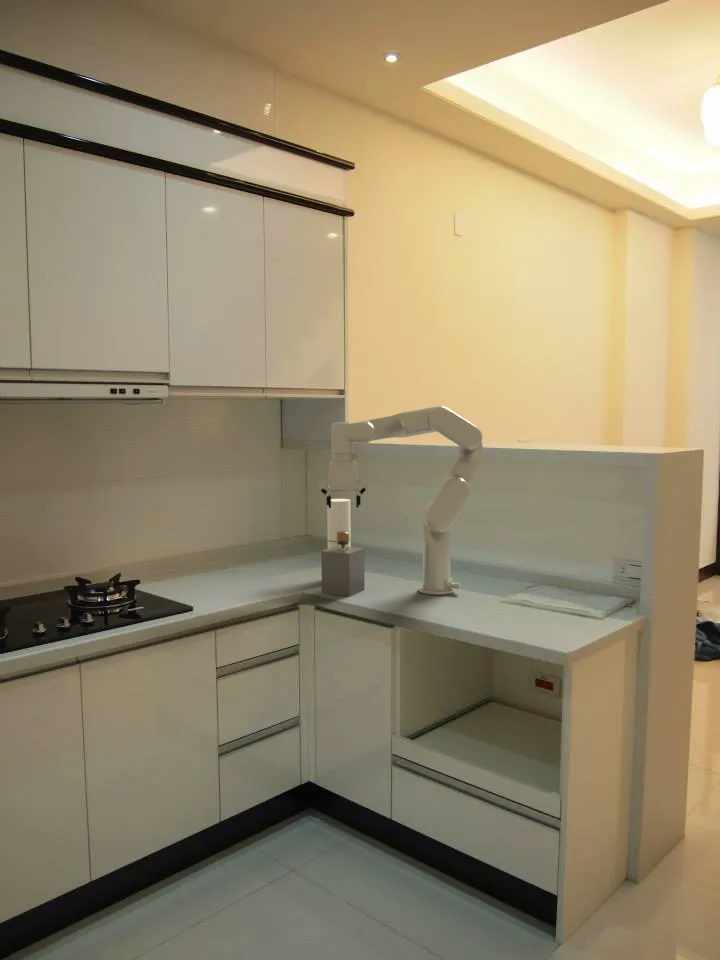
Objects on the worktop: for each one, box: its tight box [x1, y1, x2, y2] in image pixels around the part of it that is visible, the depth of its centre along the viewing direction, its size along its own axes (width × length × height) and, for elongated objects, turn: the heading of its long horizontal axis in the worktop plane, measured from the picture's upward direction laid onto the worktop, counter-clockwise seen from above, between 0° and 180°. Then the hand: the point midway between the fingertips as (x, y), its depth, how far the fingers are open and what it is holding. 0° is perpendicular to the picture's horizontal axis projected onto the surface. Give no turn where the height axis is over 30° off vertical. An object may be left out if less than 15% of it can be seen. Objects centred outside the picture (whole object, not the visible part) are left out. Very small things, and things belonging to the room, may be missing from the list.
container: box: [326, 498, 352, 549], centre depth 283 cm, size 9×9×30 cm
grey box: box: [320, 546, 365, 598], centre depth 266 cm, size 11×11×15 cm
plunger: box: [337, 531, 349, 551], centre depth 266 cm, size 8×8×20 cm
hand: (343, 507), depth 264 cm, fingers open, 9 cm apart
